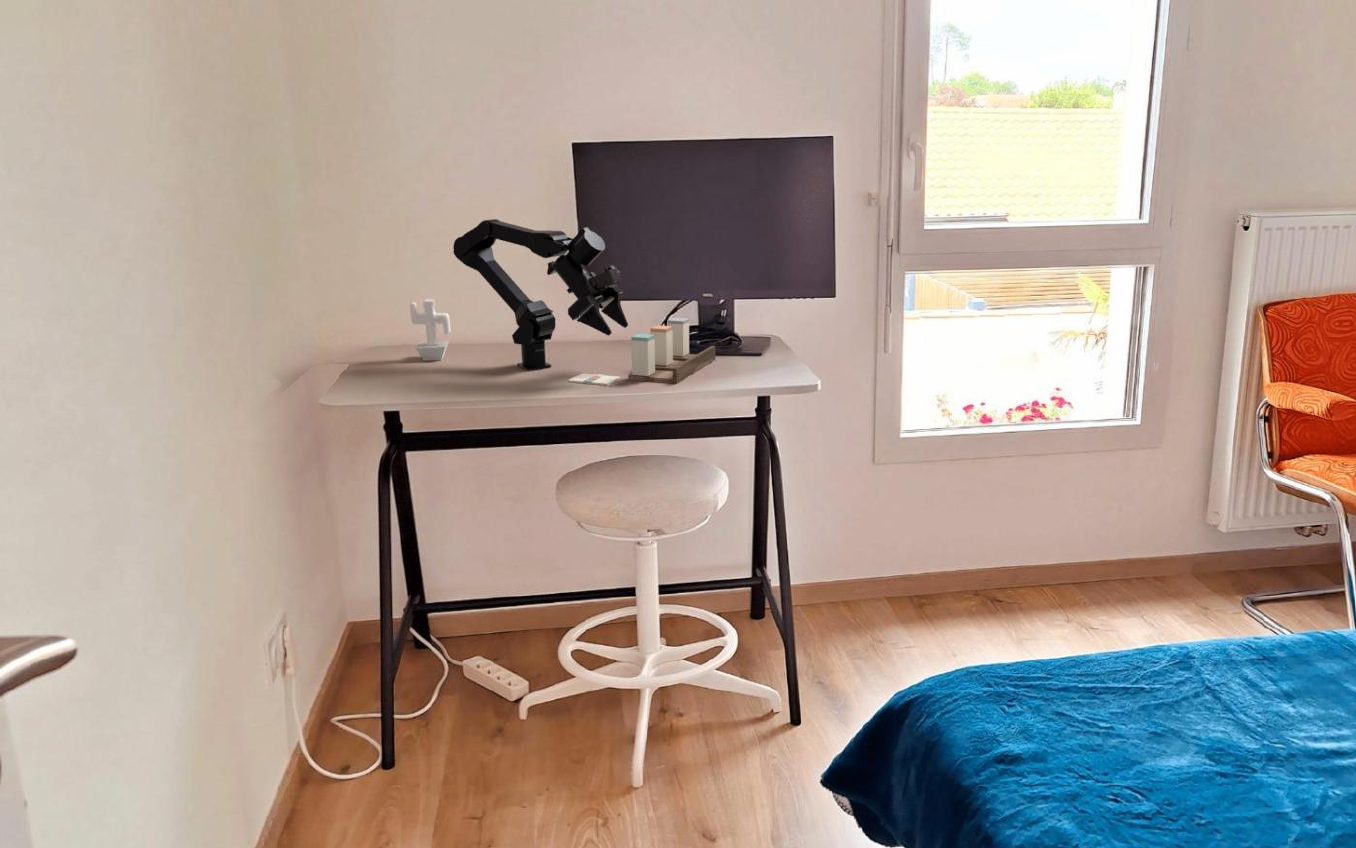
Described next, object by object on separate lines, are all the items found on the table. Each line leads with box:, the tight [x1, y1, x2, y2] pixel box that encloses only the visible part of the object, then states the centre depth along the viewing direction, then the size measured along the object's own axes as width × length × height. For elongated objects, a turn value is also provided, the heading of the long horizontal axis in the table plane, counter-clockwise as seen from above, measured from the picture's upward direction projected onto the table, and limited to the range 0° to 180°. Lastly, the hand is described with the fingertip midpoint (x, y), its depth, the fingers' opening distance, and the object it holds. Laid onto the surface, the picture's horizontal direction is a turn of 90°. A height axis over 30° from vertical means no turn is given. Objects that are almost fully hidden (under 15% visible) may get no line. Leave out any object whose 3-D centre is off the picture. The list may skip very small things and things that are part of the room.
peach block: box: [650, 324, 673, 366], centre depth 234 cm, size 4×4×9 cm
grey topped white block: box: [667, 317, 690, 356], centre depth 244 cm, size 4×4×9 cm
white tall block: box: [631, 333, 655, 376], centre depth 225 cm, size 4×4×9 cm
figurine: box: [409, 298, 451, 362], centre depth 246 cm, size 7×9×15 cm
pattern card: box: [567, 373, 622, 386], centre depth 225 cm, size 10×7×1 cm
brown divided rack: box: [627, 345, 716, 385], centre depth 234 cm, size 12×26×4 cm, turn 158°
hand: (618, 330), depth 226 cm, fingers open, 9 cm apart
